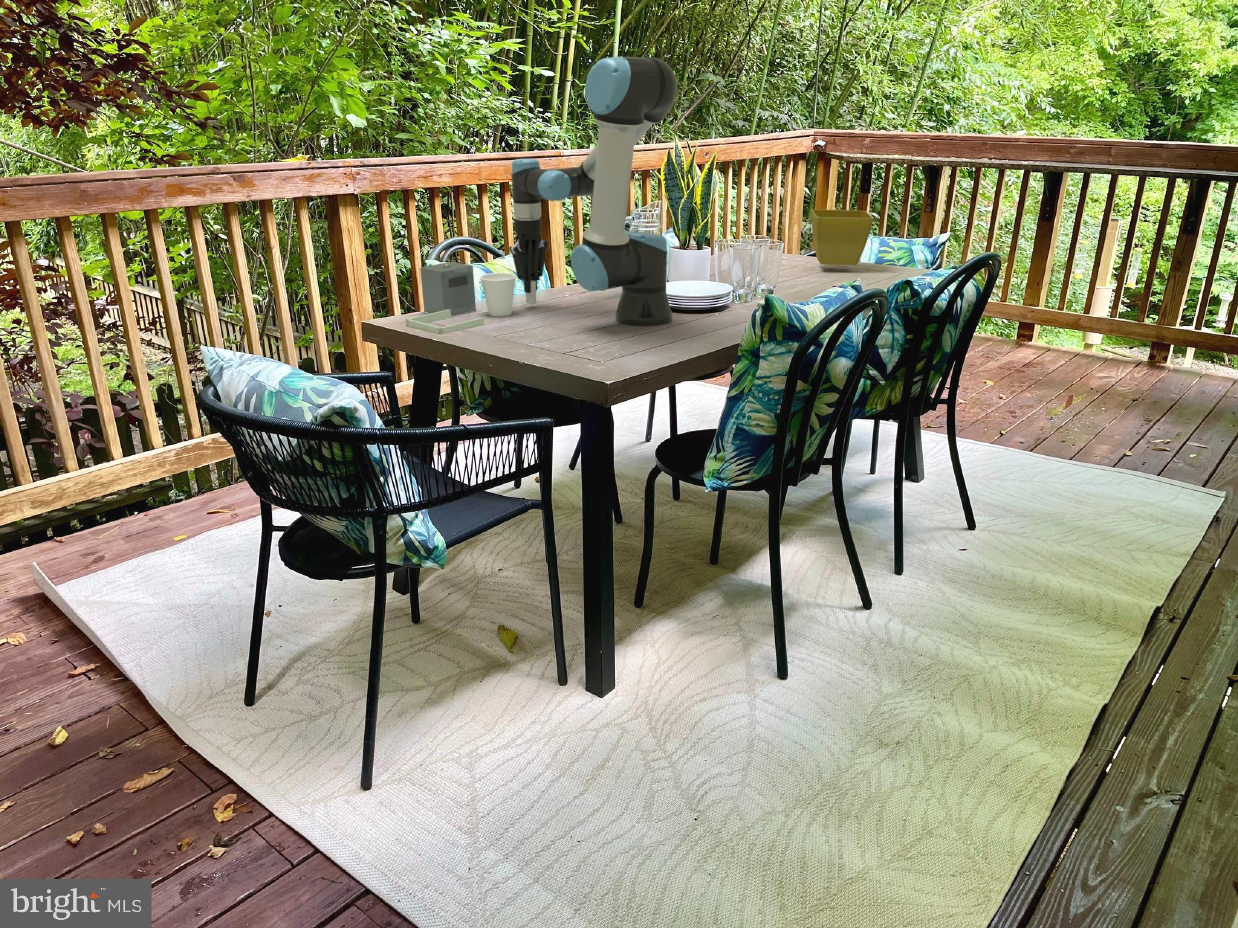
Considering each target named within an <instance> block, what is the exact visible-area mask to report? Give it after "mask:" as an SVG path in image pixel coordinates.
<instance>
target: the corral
mask: <svg viewBox="0 0 1238 928" xmlns="http://www.w3.org/2000/svg"><path fill="white" fill-rule="evenodd" d="M446 318H447V319H451V318H452V316H451V310H450V309H448V310H444V311H439V312H435V313H431V314H428V313H426V314H423V315H419V316H413V317H411V318H406V319H405V325H406V327H409V326H410V328H414V329H417V330H422V331H427V332H430V333H431V332H432V333H435V334H440V335H443V334H447V333H452V332H458V331H463V330H465V329H466V330H467V329H471V328H475V327H476V328H477V327H479V326H480V327H481V326H485V318H484V317H478V318H475V319H471V320H467V321H462V322H458V323H454V324H449V325H446V326H442V327H439V326H435V325H431V324H427V323H431V321H432V322H436V321H437V322H438V321H441V320H446Z"/></svg>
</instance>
